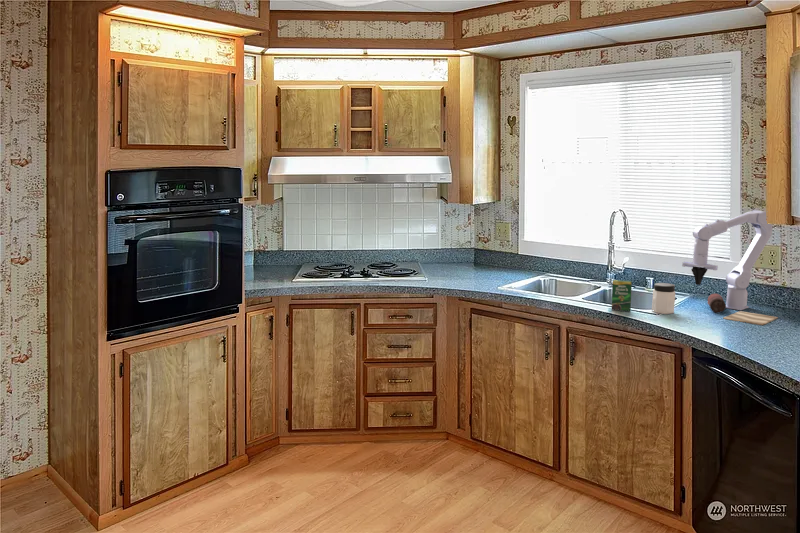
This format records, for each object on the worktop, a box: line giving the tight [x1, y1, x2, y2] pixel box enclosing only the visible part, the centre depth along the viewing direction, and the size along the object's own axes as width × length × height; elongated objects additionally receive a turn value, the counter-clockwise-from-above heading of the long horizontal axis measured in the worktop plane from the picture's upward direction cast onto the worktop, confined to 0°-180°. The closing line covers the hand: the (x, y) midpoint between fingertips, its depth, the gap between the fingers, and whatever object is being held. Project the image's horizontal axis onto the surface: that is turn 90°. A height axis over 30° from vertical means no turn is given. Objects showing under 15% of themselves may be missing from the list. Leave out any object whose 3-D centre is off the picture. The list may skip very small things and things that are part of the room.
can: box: [707, 293, 727, 314], centre depth 291 cm, size 6×6×14 cm
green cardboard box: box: [611, 279, 633, 313], centre depth 288 cm, size 8×3×13 cm, turn 66°
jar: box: [651, 282, 676, 315], centre depth 285 cm, size 9×8×12 cm
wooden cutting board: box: [723, 310, 779, 326], centre depth 276 cm, size 18×15×1 cm
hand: (698, 284), depth 294 cm, fingers closed
